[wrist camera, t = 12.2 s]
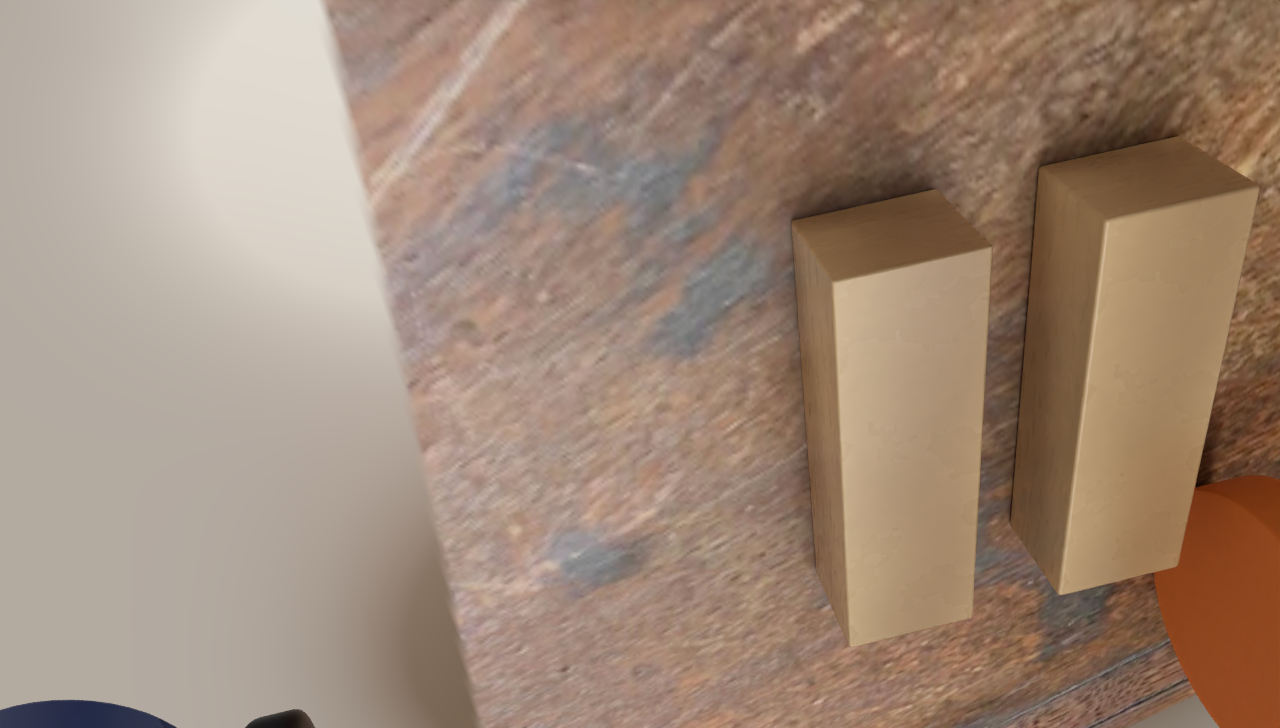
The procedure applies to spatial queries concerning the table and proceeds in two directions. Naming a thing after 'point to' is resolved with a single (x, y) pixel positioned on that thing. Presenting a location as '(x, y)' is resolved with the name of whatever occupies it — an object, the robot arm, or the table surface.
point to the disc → (1229, 601)
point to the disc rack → (1051, 381)
